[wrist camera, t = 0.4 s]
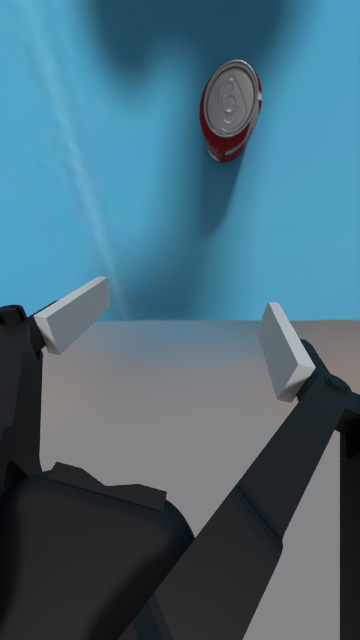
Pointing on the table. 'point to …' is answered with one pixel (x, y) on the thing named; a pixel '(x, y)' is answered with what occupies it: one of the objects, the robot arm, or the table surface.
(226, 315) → the table surface
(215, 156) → the soda can
